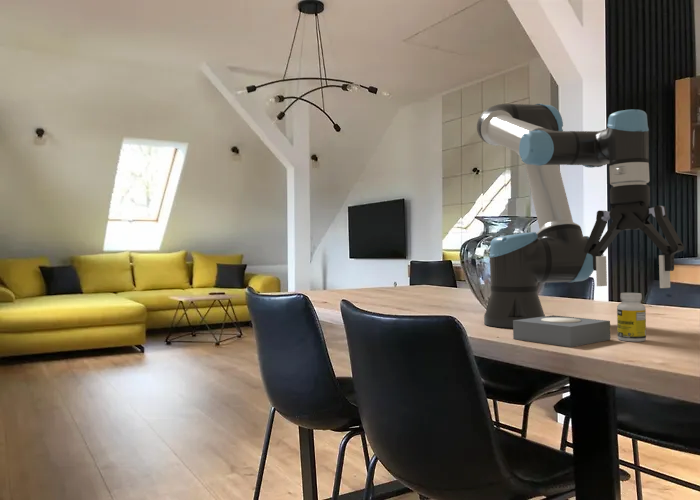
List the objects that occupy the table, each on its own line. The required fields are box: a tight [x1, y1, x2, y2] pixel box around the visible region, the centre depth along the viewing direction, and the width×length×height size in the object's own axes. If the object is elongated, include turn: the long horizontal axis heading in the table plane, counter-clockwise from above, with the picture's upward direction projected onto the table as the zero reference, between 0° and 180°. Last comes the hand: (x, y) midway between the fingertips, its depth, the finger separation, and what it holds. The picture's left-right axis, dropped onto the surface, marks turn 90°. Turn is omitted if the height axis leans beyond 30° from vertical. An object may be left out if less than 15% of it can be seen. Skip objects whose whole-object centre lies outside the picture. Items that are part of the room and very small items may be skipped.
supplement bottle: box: [616, 292, 647, 343], centre depth 123 cm, size 5×5×10 cm
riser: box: [512, 315, 611, 348], centre depth 126 cm, size 14×14×4 cm
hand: (632, 287), depth 123 cm, fingers open, 13 cm apart
